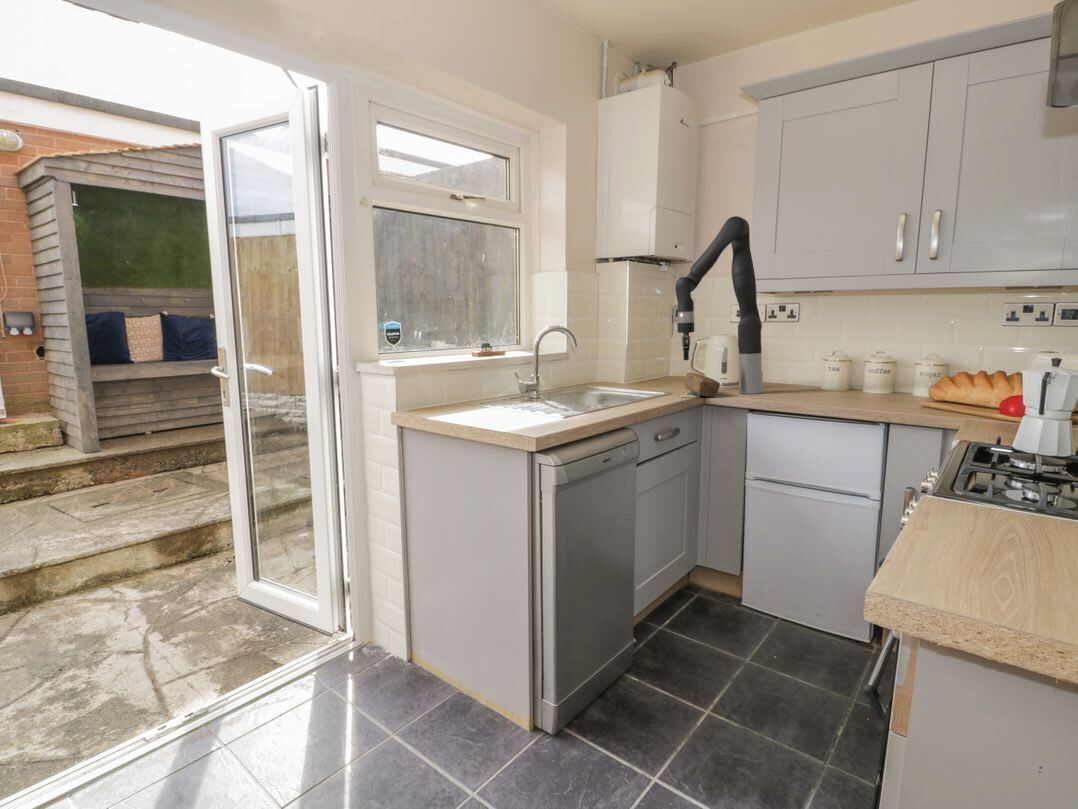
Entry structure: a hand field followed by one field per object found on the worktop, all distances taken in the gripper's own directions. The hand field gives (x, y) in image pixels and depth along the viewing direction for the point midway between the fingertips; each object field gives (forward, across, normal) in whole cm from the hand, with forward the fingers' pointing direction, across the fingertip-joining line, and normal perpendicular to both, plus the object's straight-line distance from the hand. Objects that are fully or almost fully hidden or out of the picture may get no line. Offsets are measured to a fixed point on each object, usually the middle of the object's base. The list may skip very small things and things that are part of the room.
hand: (686, 360), depth 267 cm
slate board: (+15, -16, 0) cm, 22 cm away
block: (+9, -5, -3) cm, 11 cm away
